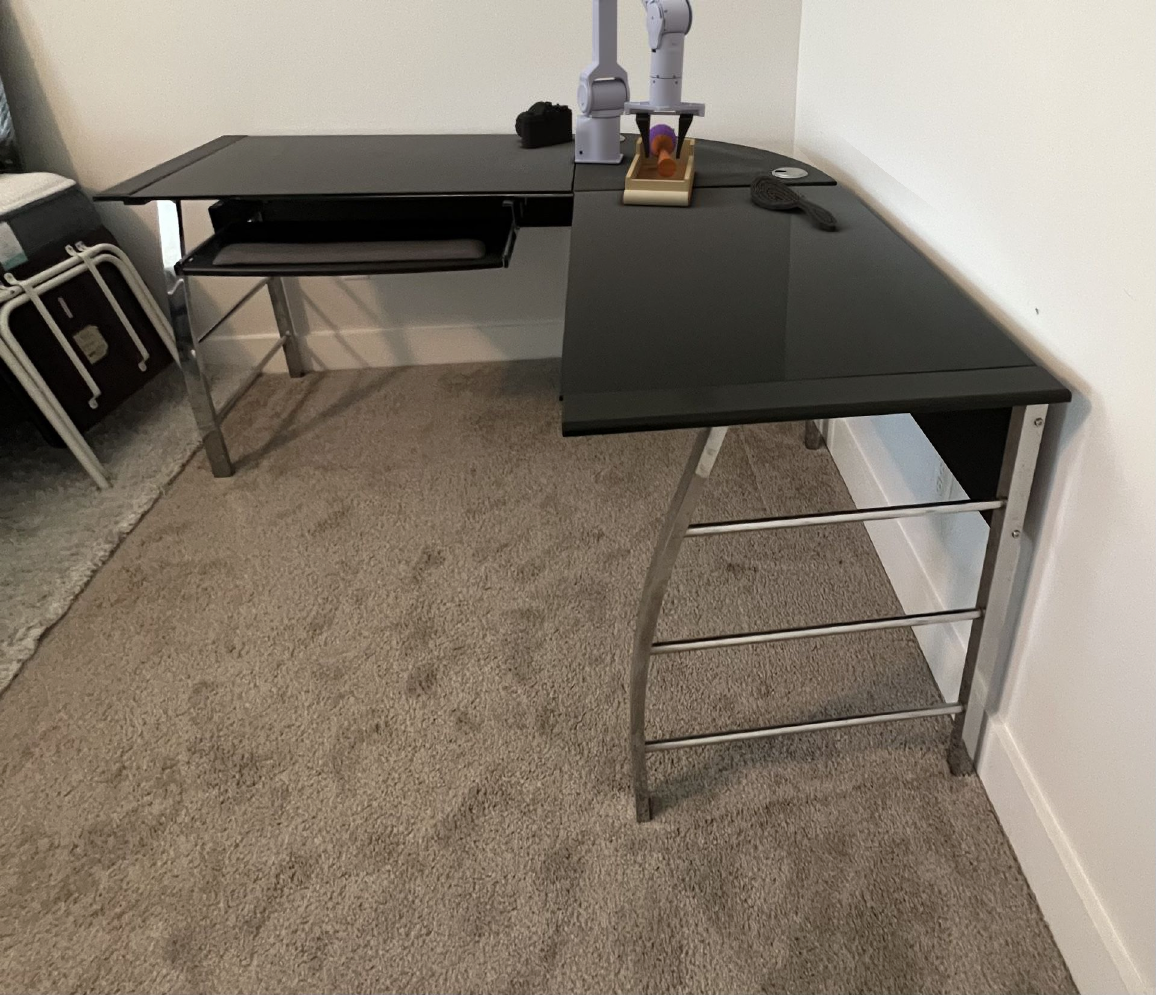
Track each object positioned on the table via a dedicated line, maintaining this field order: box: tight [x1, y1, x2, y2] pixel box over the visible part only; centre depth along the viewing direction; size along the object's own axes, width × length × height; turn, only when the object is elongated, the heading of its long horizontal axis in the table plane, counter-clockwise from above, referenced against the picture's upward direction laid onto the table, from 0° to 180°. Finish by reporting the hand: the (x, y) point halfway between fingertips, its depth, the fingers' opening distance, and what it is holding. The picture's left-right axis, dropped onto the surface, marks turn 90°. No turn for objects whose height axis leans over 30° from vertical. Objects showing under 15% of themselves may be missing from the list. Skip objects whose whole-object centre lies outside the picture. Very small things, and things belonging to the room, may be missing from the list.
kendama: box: [650, 123, 678, 178], centre depth 157 cm, size 6×6×20 cm
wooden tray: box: [622, 127, 696, 207], centre depth 157 cm, size 27×12×8 cm, turn 171°
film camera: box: [514, 100, 574, 149], centre depth 194 cm, size 15×10×9 cm, turn 133°
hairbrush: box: [749, 171, 838, 232], centre depth 145 cm, size 8×4×25 cm
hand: (662, 157), depth 157 cm, fingers closed on kendama, 5 cm apart
